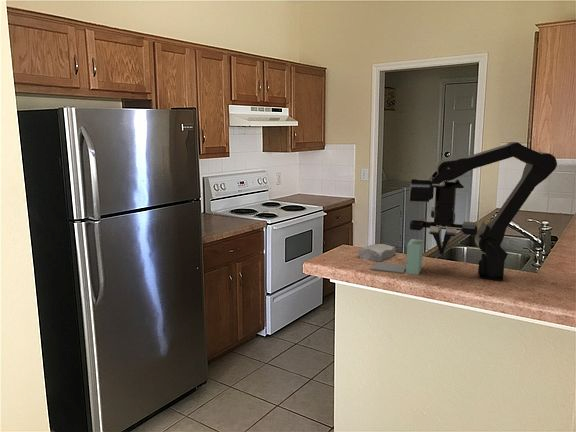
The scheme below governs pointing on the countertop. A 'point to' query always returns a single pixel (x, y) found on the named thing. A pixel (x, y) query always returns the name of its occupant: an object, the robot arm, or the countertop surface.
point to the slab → (414, 256)
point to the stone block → (377, 252)
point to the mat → (389, 267)
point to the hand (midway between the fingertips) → (441, 254)
